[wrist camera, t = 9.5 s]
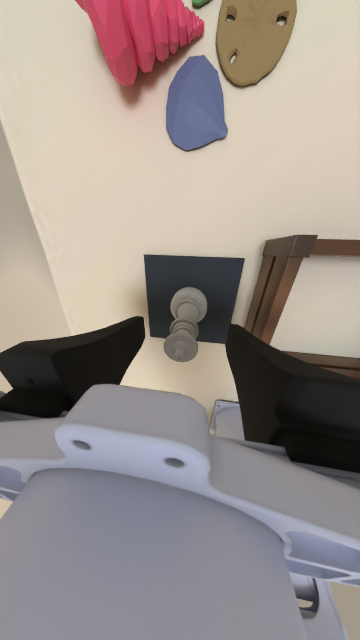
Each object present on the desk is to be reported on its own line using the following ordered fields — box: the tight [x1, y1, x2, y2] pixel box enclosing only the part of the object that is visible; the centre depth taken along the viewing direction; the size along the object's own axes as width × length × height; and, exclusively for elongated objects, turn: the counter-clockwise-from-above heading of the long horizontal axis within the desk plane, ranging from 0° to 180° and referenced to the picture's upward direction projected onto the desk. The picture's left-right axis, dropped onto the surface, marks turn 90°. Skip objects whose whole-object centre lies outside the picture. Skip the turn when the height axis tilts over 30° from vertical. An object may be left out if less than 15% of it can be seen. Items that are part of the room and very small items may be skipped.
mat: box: [144, 255, 245, 344], centre depth 17 cm, size 11×11×1 cm
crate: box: [245, 235, 360, 380], centre depth 14 cm, size 14×17×5 cm
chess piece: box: [164, 287, 207, 362], centre depth 13 cm, size 4×4×10 cm
